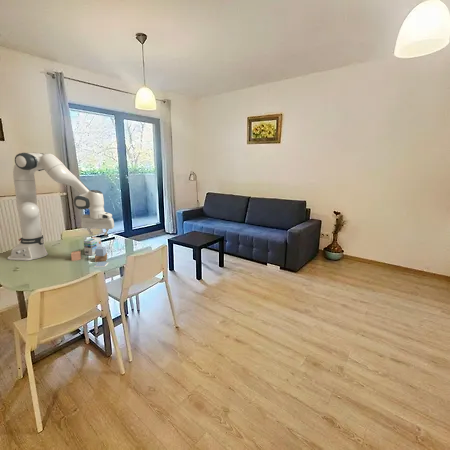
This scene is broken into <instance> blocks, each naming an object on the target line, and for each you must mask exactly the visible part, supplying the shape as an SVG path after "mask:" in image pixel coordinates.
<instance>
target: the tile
mask: <svg viewBox="0 0 450 450" xmlns="http://www.w3.org/2000/svg"><path fill="white" fill-rule="evenodd" d="M108 264H109V261H108V262H107V261H103V262H96V264H95V265H94V266H93V267H94V268H105V267H106V266H107V265H108Z"/></svg>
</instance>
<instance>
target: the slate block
mask: <svg viewBox="0 0 450 450" xmlns="http://www.w3.org/2000/svg"><path fill="white" fill-rule="evenodd" d="M106 248H107V247H106V246H102V247H97V248H96V249H95V252H96V254H95V255H96V256H104V255H105V254H106V253H107V249H106Z"/></svg>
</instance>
